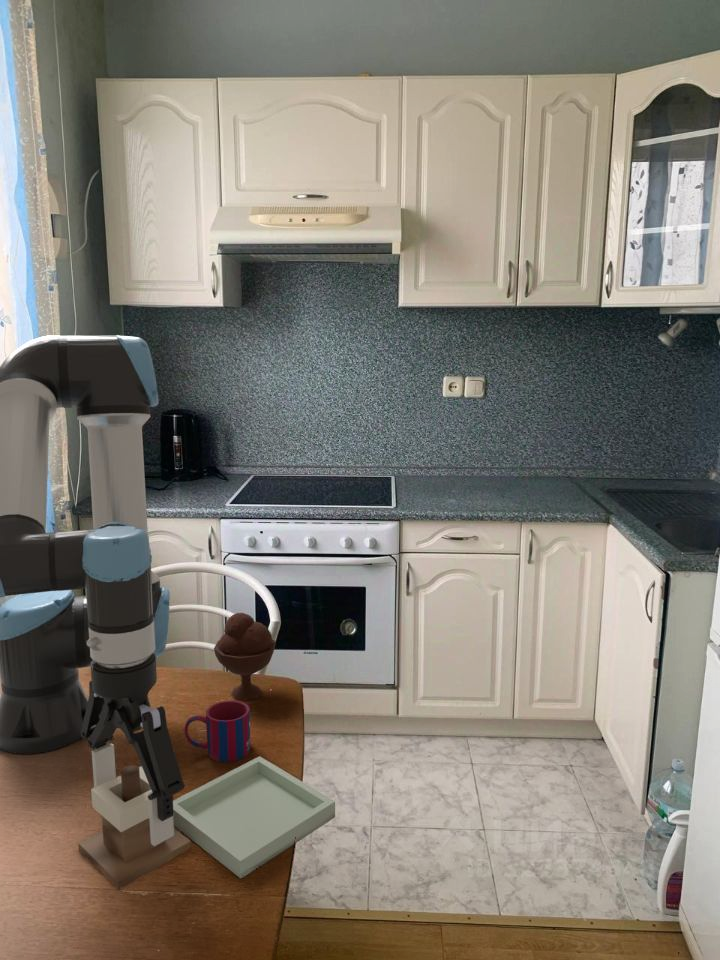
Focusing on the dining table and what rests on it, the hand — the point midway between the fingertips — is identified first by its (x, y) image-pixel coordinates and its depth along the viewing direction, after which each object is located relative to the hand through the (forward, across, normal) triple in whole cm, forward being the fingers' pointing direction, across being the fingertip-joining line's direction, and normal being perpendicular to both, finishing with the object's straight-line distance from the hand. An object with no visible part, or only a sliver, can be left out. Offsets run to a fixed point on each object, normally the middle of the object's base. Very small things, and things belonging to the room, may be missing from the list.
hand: (132, 815), depth 93 cm
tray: (+5, +6, +14) cm, 16 cm away
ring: (-1, 0, 0) cm, 1 cm away
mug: (+5, -11, +21) cm, 25 cm away
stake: (+5, 0, 0) cm, 5 cm away
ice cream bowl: (+5, -23, +36) cm, 43 cm away
